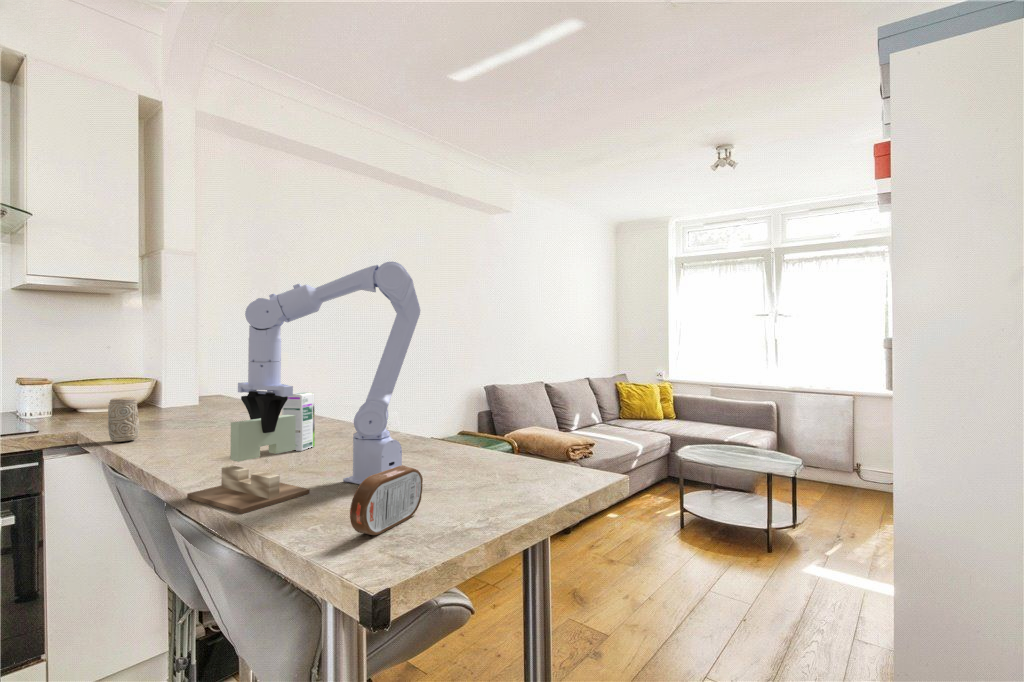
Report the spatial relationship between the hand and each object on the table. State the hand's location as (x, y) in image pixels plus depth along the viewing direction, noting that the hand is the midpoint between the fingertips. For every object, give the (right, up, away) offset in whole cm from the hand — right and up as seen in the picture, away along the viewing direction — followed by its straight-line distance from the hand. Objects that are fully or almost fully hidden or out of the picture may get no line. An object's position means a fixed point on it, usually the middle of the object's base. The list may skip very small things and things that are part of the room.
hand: (264, 431), depth 98 cm
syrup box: (-7, -11, +34) cm, 36 cm away
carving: (-59, -10, +41) cm, 72 cm away
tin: (+30, -11, -21) cm, 38 cm away
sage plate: (0, -5, 0) cm, 5 cm away
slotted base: (+1, -10, -7) cm, 12 cm away
